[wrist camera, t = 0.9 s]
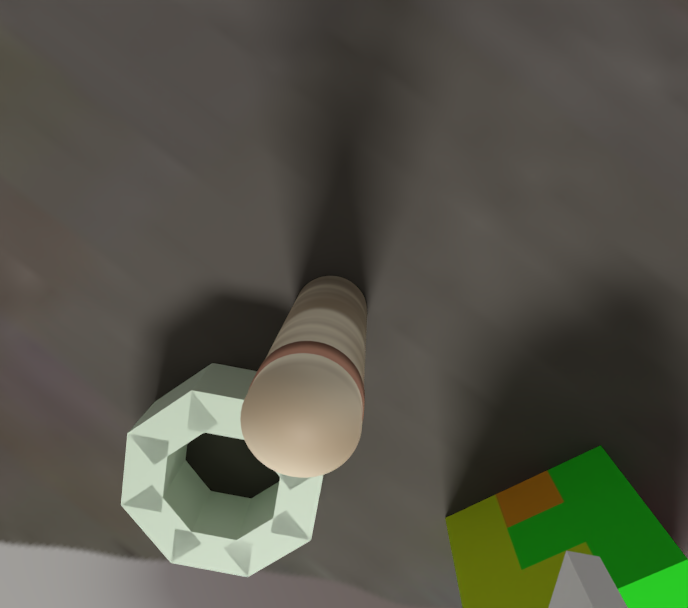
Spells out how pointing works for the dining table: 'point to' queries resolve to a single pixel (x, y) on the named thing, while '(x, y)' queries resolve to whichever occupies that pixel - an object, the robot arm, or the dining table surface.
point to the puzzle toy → (565, 539)
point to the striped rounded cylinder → (311, 383)
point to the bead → (195, 497)
